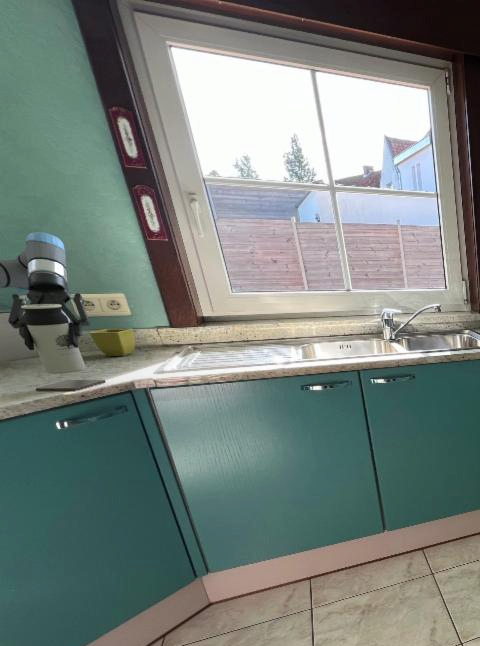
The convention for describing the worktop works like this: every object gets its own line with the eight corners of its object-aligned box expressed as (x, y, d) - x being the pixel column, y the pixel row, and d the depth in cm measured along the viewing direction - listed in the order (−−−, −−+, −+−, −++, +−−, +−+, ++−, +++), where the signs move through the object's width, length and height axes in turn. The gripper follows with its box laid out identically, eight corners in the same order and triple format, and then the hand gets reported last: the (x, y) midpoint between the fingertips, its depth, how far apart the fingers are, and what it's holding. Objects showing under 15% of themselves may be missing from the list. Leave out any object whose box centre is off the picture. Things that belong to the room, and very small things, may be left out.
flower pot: (97, 357, 176) (88, 332, 173) (114, 353, 184) (105, 328, 181) (126, 357, 178) (117, 332, 175) (141, 352, 186) (133, 328, 183)
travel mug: (40, 371, 137) (13, 305, 131) (78, 366, 144) (54, 303, 137) (54, 375, 134) (27, 307, 128) (91, 369, 141) (68, 305, 134)
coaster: (36, 391, 136) (35, 388, 135) (69, 382, 145) (68, 379, 145) (75, 391, 137) (74, 388, 136) (105, 382, 146) (104, 379, 145)
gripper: (103, 289, 148) (109, 351, 142) (2, 290, 138) (4, 357, 131) (92, 271, 142) (98, 335, 136) (-14, 270, 132) (-13, 340, 125)
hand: (52, 345), depth 134 cm, fingers closed on travel mug, 8 cm apart
